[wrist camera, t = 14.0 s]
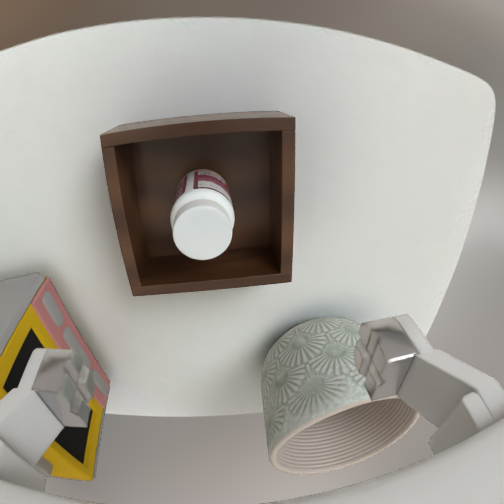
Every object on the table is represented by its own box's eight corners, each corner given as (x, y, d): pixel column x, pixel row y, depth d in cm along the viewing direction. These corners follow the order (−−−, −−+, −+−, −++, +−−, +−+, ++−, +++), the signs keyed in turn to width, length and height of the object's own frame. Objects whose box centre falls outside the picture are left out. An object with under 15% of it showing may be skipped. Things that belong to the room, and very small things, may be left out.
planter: (381, 285, 38) (444, 374, 25) (359, 372, 46) (396, 451, 33) (245, 305, 36) (268, 421, 23) (252, 392, 45) (269, 484, 31)
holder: (119, 125, 25) (99, 135, 20) (278, 111, 26) (295, 117, 21) (142, 262, 32) (133, 296, 27) (278, 250, 33) (291, 282, 28)
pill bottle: (191, 226, 30) (188, 275, 23) (167, 183, 27) (153, 220, 20) (237, 204, 29) (249, 248, 22) (215, 158, 27) (219, 188, 20)
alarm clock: (118, 376, 40) (101, 496, 24) (36, 381, 39) (6, 478, 23) (53, 257, 30) (-25, 389, 14) (-31, 279, 29) (-100, 379, 13)
